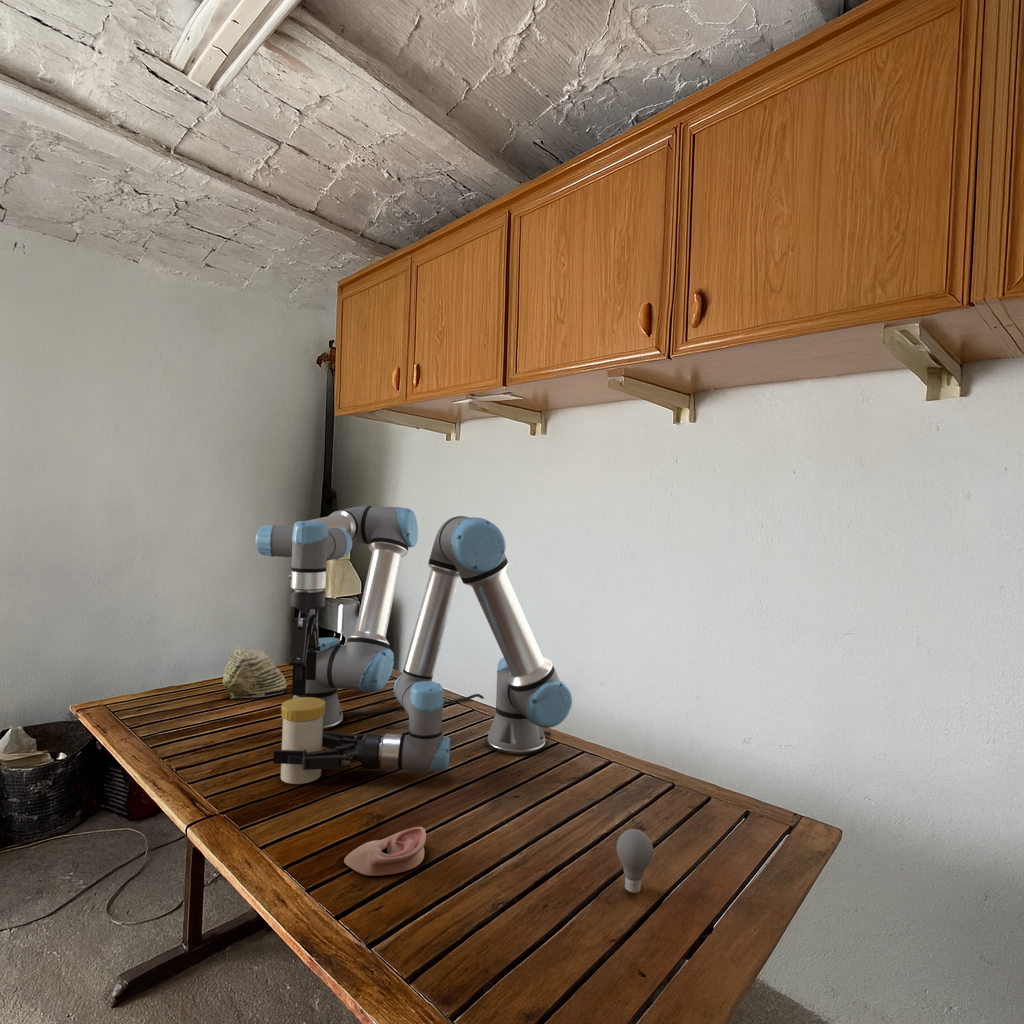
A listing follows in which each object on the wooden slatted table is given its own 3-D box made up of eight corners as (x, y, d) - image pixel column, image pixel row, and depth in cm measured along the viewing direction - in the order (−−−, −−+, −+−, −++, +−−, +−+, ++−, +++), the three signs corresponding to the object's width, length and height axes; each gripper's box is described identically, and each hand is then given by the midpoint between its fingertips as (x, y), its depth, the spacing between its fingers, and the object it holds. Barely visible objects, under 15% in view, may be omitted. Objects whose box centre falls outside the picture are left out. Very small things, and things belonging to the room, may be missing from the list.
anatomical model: (336, 847, 108) (365, 815, 119) (335, 870, 108) (364, 836, 119) (410, 859, 105) (432, 825, 116) (409, 883, 105) (431, 846, 116)
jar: (290, 787, 137) (293, 714, 137) (273, 774, 144) (276, 704, 143) (328, 777, 143) (330, 707, 143) (310, 764, 150) (313, 697, 149)
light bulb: (610, 879, 108) (613, 822, 108) (644, 879, 109) (647, 822, 109) (619, 902, 102) (622, 840, 102) (655, 901, 103) (658, 840, 103)
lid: (292, 724, 136) (292, 713, 136) (274, 712, 143) (274, 702, 143) (332, 715, 143) (333, 705, 143) (313, 704, 150) (313, 694, 150)
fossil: (218, 695, 195) (220, 647, 195) (278, 685, 208) (279, 640, 207) (228, 703, 189) (230, 653, 188) (289, 692, 201) (290, 645, 201)
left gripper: (302, 582, 154) (298, 672, 154) (277, 597, 131) (273, 703, 131) (333, 583, 155) (330, 672, 155) (315, 598, 131) (310, 703, 132)
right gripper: (371, 789, 133) (263, 786, 132) (389, 749, 154) (296, 746, 154) (372, 754, 133) (264, 750, 132) (390, 718, 154) (297, 715, 154)
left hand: (304, 686), depth 143 cm, fingers open, 11 cm apart
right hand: (281, 748), depth 143 cm, fingers closed on jar, 9 cm apart
